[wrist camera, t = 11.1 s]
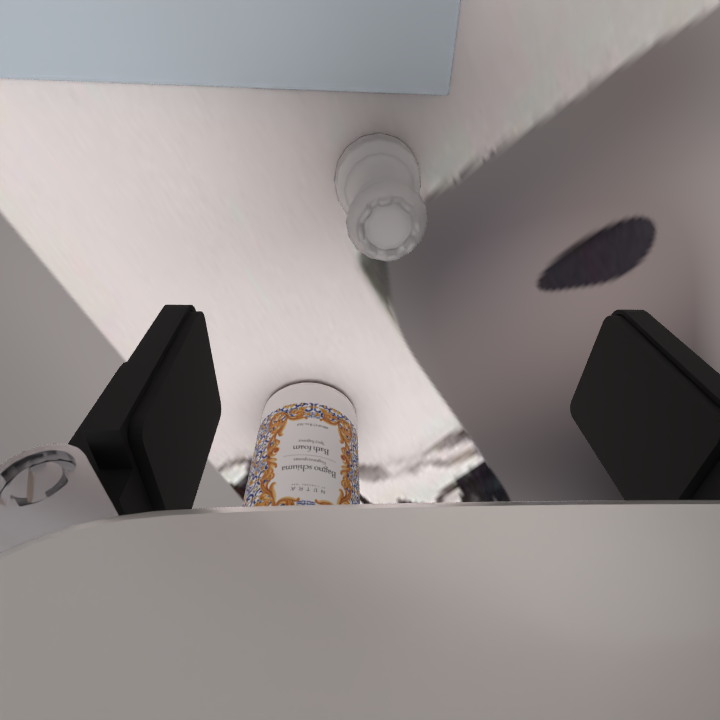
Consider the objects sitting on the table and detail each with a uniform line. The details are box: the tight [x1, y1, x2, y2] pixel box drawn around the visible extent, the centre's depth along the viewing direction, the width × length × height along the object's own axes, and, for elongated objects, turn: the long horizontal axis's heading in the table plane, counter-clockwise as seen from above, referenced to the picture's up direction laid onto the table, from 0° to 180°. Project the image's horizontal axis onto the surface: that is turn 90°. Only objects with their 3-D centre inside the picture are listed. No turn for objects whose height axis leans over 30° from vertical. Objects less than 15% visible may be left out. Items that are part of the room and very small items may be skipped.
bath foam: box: [242, 383, 360, 507], centre depth 25 cm, size 7×7×20 cm
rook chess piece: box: [334, 133, 427, 262], centre depth 20 cm, size 4×4×8 cm
